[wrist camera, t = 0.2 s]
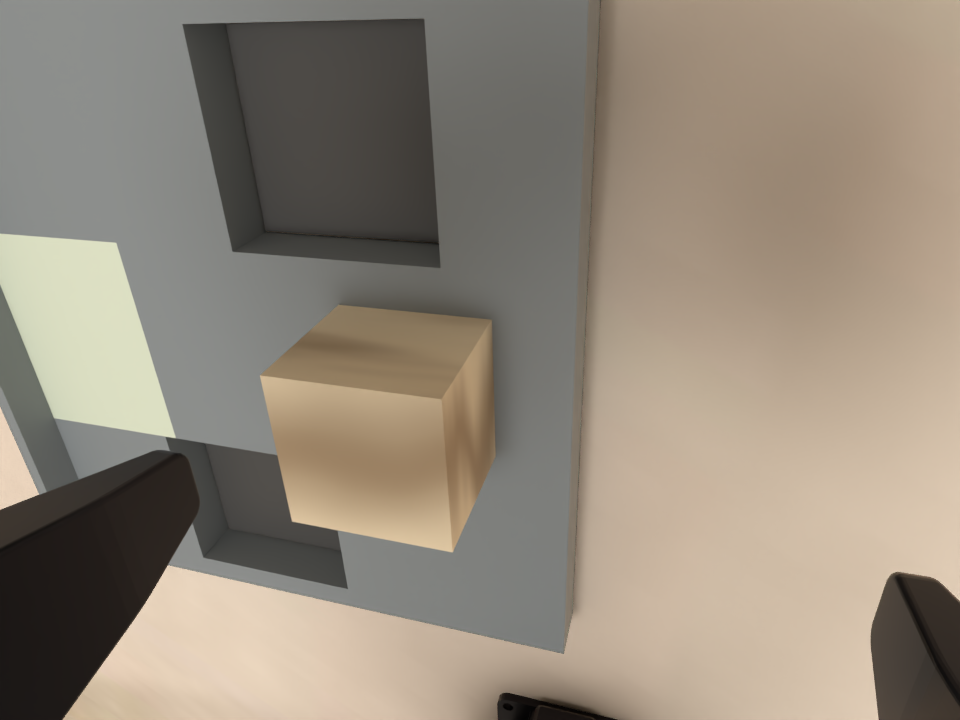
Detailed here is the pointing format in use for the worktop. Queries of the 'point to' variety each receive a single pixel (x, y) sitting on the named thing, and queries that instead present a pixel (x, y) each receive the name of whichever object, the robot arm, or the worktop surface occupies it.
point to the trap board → (301, 261)
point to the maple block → (385, 423)
